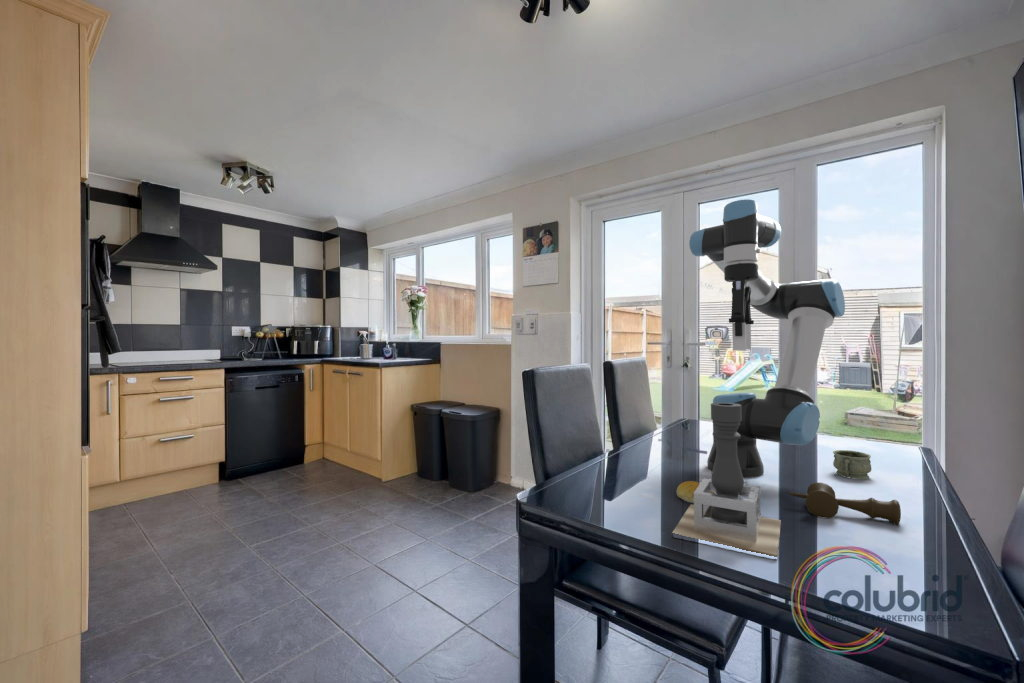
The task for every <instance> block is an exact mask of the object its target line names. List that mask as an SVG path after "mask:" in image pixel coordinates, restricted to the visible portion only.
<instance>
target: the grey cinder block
mask: <svg viewBox="0 0 1024 683" xmlns="http://www.w3.org/2000/svg"><path fill="white" fill-rule="evenodd" d="M699 483H700V484H699V486H698V487H697V489H696V490H695V492H694V503H693V505H694V530H696V531H701V532H706V533H711V534H716V535H720V536H725V537H730V538H735V539H740V540H745V541H750V542H755V543H756V542H757V538H758V533H759V528H760V523H761V517H762V516H761V515H762V514H761V486H758V485H752V484H745V483H744V486H743V488H742V490H741V491H740V492H739V494H740V495H739V496H741V497H738V498H737V497H731V496H725V495H718V494H717V493H714V494H712V493H711V491H713V492H716V489H715V488H714V486H713V484H712V482H711V478H710V479H709V478H703V479H702V480H701V481H700V482H699ZM743 496H744V497H747V498H743ZM712 506H715V507H721V508H726V509H732V510H738V511H744V512H745V522H746V523H747V525H745V524H740V523H734V522H729V521H724V520H718V519H713V518H709V517H710V516H711V507H712Z"/></svg>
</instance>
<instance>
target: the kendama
mask: <svg viewBox="0 0 1024 683" xmlns="http://www.w3.org/2000/svg"><path fill="white" fill-rule="evenodd" d="M788 494H789V495H790V496H793V497H797V498H803V499H805V503H806V504H805V505H806V509H807V510H808V512H809V513H810V514H812V515H813V516H815V517H817V518H823V519H831V518H834V517H835V516H836V515H837V514H838V513H839V512H838V511H839V509H840V508H839V507H842V508H846V509H848V510H849V509H850V510H854V511H856V512H859V513H862V514H864V515H867V516H868V517H869V518H871V519H877V518H879V519H883V520H884V519H885V520H886V521H889V522H890V523H893V524H894V525H895V526H896V525H899V524H900V522H901V517H902V516H901V514H902V510H901V504H900V502H899V501H898V500H896V499H892V500H889V501H883V500H877V499H875V498H874V497H869V498H868V499H847V498H837V497H836V492H835V490H834V489H833V487H832V486H830V485H829V484H828V483H824V482H817V481H816V482H813V483H810V485H809V486H808V487H807V491H806V494H805V493H800V492H791V491H790V492H788Z"/></svg>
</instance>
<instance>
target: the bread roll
mask: <svg viewBox="0 0 1024 683" xmlns="http://www.w3.org/2000/svg"><path fill="white" fill-rule="evenodd" d="M700 483H701V482H698V481H696V480H695V481H694V480H687V481H684V482H681V483H680V484H679V485H678V486H677V488H676V495H677V497H678V498H679V499H682V500H683V502H686V501H687V502H686V503H689V502H690V504H694V492H695V490H696V489H697V487H698V486H699V484H700ZM714 492H715V491H711V493H712V494H715V493H714Z"/></svg>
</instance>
